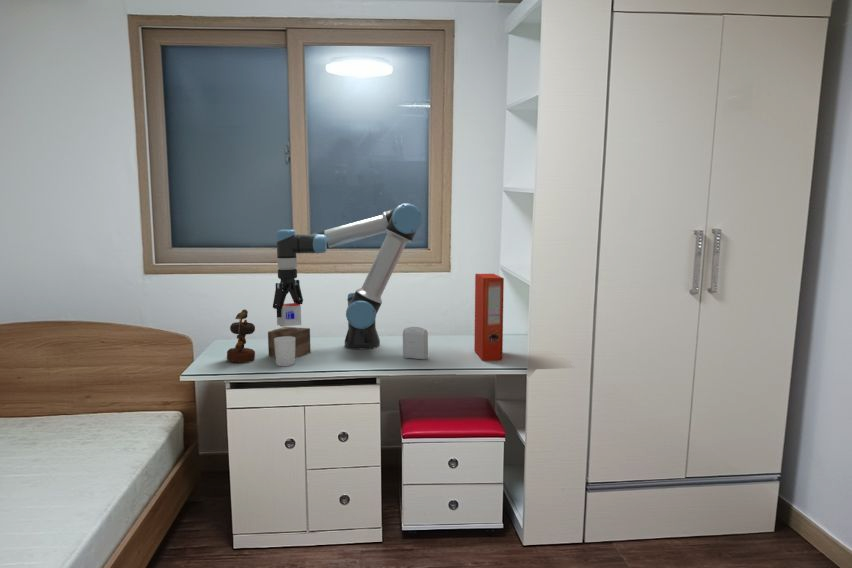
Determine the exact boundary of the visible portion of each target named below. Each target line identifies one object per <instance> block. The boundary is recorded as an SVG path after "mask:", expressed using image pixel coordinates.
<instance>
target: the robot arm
mask: <svg viewBox="0 0 852 568" xmlns="http://www.w3.org/2000/svg"><path fill="white" fill-rule="evenodd" d="M422 223H423V215H422V212H421V210H420V209H419V208H418V207H417V206H416V205H414V204H412V203H410V202H404V203H402V204H400V205H398V206H396V207H394V208H392V209H389V210H386V211H383V213H382V214H380V215H377V216H372V217H369V218H364V219H361V220H357V221H354V222H350V223H347V224H343V225H340V226H339V225H338V226H335V227H331V228H329V229H326V230H321V231H317V232H313V233H310V234H297V231H296V230H295V229H279V230H277V232H276V241H275V242H276V257H277V268H278V269H277V278H278V279H279V280H280V282H276V283H275V291H274V295H273V296H274V298H273V301H272V302H273V303H272V308H273V309H274V310H276V325H277V326H280V325H284V309H282V307H283V304H285V301H286V297H287V295H288V294H290V297H291V299H292V301H293V303H297V304H299V305H303V302H304V298H303V294H302V289H301V285H300V283H301V282H300V280H299V279H297V278H298V269H297V267H298V262H297V261H298V260H297V254H316V255H317V254H325V253H326V252H327V250H328V249H329V248H333V247H336V246H341V245H343V244H348V243H352V242H356V241H360V240H363V239H366V238H369V237H374V236H377V235H381V234H386V236H385V238H384V240H383V242H382V245H381V246H380V248H379V250H378V253H377V255H376V257H375V259H374V261H373V263H372V264H371V267H370V269H369V271H368V273H367V276H366V278H365V279H364V282H363V284H362V286H361V287H360V288H357V289H355V292H350V293H348V294H347V308H346V311H345V317H346V320H347V323H348V325H347V326H348V328H347V332H346V335H345V339H344V347H345V348H346V347H347V349H350V348H351V350H368V349H369V348H370V349H375V348H374V347H376V348H378V347H380V346H379V345H381V340H380V337H379V334H378V331H377V328H376V318H377V313H378V312H379V310H380V308H381V305H382V304H383V301H382V298H381V297H382V295H383V294H384V290H385V289H386V287H387V284H388V283H389V280H390V278H391V277H392V274H393V272H394V270H395V268H396V266H397V264H398V262H399V260H400V258H401V255H402V254H403V252H404V249H405V247H406V245H407V244H410V243H412V242H413V239H414V237H415V235H416V233H417V231H418V230H419V229H420V228H421V226H422ZM377 346H378V347H377ZM370 349H369V350H370Z"/></svg>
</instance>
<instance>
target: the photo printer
mask: <svg viewBox="0 0 852 568" xmlns="http://www.w3.org/2000/svg"><path fill="white" fill-rule="evenodd" d="M402 356H403V358H404V359H416V360H427V359H428V358H429V335H428V330H427V329H426V328H423V327H419V326H409V327H405V328H404V329H403V330H402Z"/></svg>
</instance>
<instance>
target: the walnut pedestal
mask: <svg viewBox="0 0 852 568" xmlns="http://www.w3.org/2000/svg"><path fill="white" fill-rule="evenodd" d="M284 336H291V337H295V359H297V358H299V357H303V356H305V355H308V354H310V353H311V328H310V327H309V328H308V327H295V326H294V327H293V326H284V327H279V328H276V329H273V330H270V331H267V341H268V342H267V344H268V357H269V356H270V358H276V356H275V344H274V338H277V337H284ZM307 353H308V354H307Z"/></svg>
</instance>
